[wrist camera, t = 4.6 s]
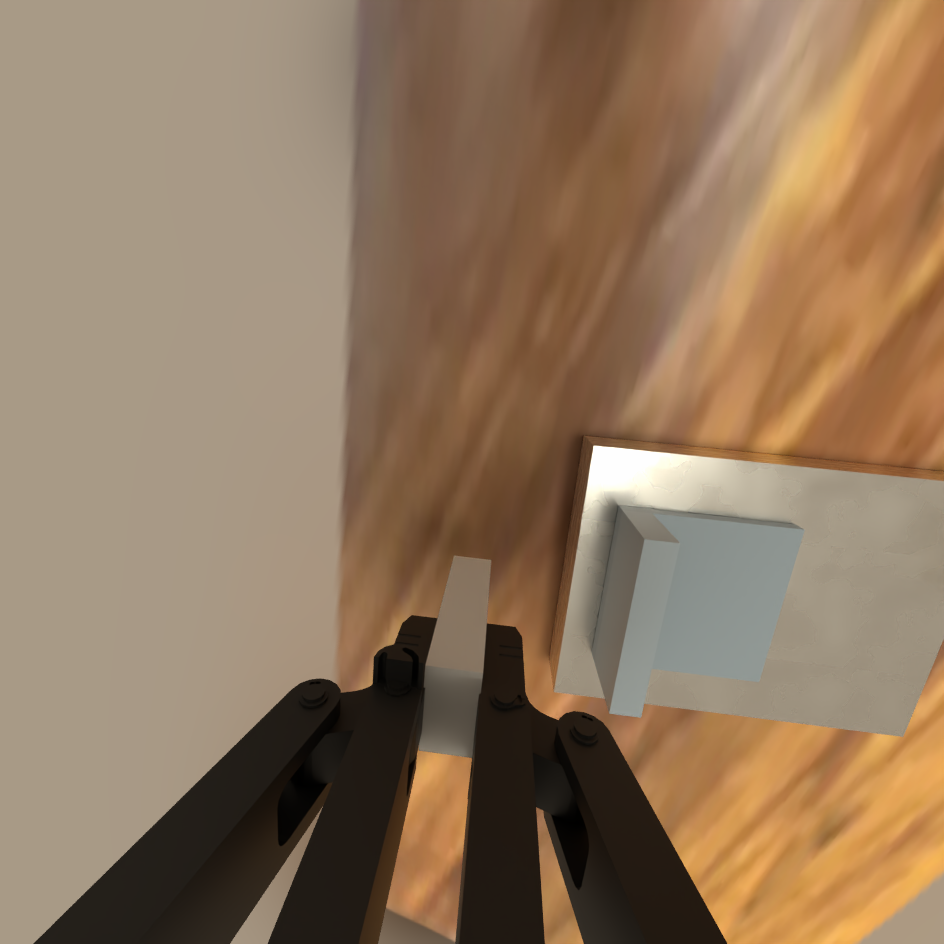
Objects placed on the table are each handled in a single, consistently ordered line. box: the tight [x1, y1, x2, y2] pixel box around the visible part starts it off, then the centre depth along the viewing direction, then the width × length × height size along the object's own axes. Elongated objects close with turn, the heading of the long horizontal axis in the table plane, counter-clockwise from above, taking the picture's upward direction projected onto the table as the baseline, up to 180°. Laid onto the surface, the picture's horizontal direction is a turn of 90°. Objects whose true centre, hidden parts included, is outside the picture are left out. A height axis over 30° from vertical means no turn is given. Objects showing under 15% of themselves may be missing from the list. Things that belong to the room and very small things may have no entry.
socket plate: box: [549, 435, 944, 737], centre depth 20 cm, size 12×16×2 cm
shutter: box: [592, 505, 805, 718], centre depth 18 cm, size 7×7×4 cm
